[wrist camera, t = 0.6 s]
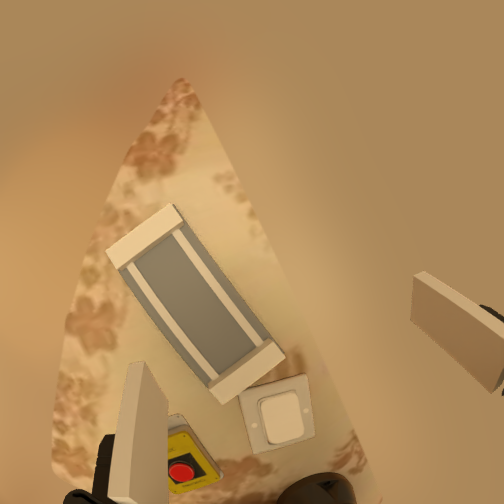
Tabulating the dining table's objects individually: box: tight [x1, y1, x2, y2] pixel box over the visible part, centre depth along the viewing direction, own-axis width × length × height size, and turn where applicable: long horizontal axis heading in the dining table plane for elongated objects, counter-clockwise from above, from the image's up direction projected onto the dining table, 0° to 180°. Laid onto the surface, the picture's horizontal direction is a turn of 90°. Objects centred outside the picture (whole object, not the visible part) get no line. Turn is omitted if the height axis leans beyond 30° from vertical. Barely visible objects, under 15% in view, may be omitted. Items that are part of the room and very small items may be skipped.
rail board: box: [105, 203, 286, 405], centre depth 38 cm, size 27×12×4 cm, turn 37°
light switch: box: [238, 373, 315, 455], centre depth 39 cm, size 11×4×13 cm
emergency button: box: [168, 414, 224, 494], centre depth 35 cm, size 9×4×15 cm
